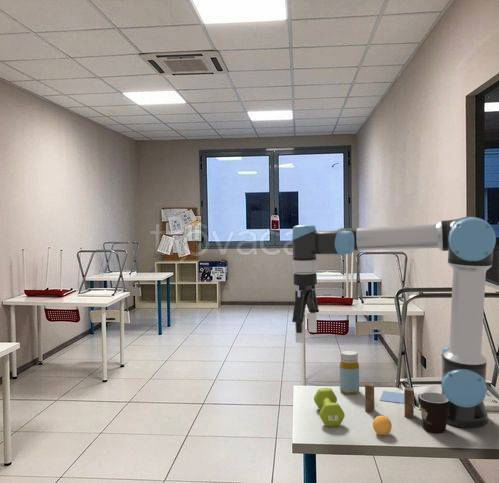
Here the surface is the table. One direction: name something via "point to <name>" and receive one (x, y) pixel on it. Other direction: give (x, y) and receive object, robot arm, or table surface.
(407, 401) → the post near
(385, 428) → the ball
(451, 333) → the robot arm
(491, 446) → the table surface
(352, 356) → the bottle
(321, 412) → the dumbbell
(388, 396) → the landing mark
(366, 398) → the post far
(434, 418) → the coffee mug
